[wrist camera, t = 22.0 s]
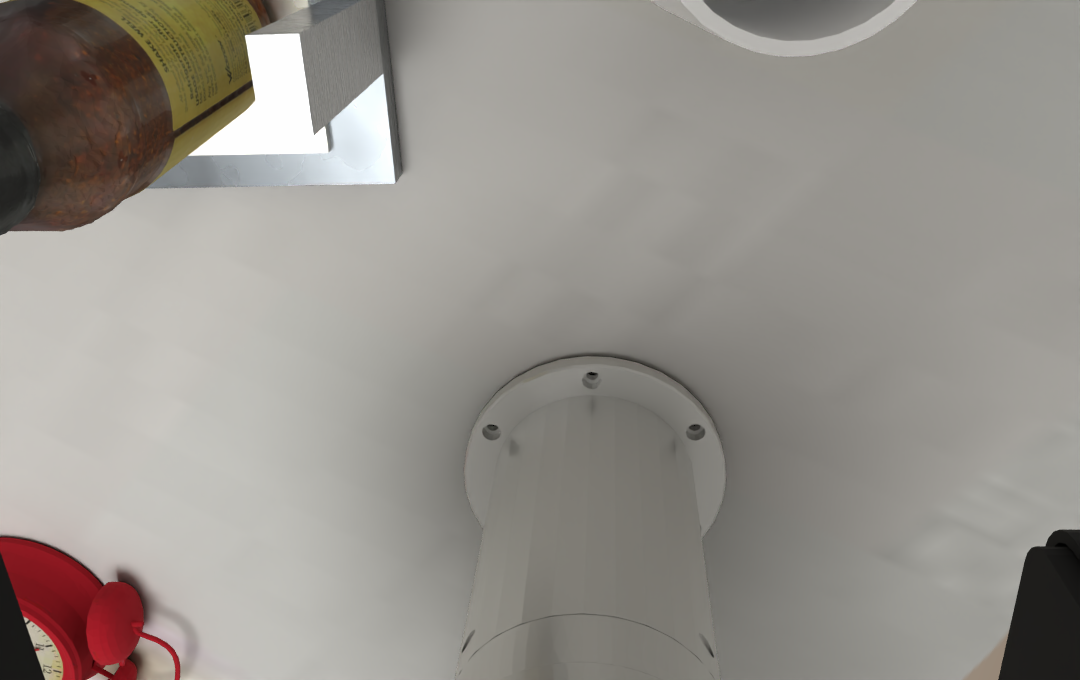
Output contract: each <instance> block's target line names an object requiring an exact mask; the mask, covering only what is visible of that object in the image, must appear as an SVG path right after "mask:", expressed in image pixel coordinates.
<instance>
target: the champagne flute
mask: <svg viewBox="0 0 1080 680" xmlns="http://www.w3.org/2000/svg"><path fill="white" fill-rule="evenodd" d="M650 1H652V2H653V3H654V4H656V5H657V6H659V7H660V8H662V9H663V10H665V11H667V12H669V13H671V14H673V15H675V16H677V17H679V18H681V19H683V20H685V21H688V22H690V23H692V24H694V25H696V26H698V27H700V28H702V29H704V30H706V31H708V32H710V33H712V34H714V35H716V36H718V37H720V38H722V39H724V40H726V41H728V42H730V43H733V44H735V45H738V46H740V47H743V48H745V49H748V50H750V51H753V52H757V53H763V54H769V55H774V56H780V57H797V56H814V55H819V54H823V53H828V52H832V51H837V50H841V49H844V48H846V47H848V46H851V45H853V44H855V43H858V42H860V41H862V40H865V39H867V38H869V37H871V36H873V35H874V34H876V33H877V32H879V31H880V30H882V29H883V28H885V27H886V26H888V25H889V24H891V23H892V22H894V21H896V20H897V19H898V18H899V17H900V16H901V15H902V14H904V13H905V12H906V11H907V10H908V9H909V8H910V7H911V6H912V5H913V4H914V3H915V2H916V1H917V0H650Z"/></svg>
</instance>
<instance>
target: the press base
mask: <svg viewBox="0 0 1080 680" xmlns="http://www.w3.org/2000/svg"><path fill="white" fill-rule="evenodd" d="M261 2H262V4H263V5H264V7H265V9H266V12H267V15H268V17H269V21H270V23H271V24H269V25H267V26H265V27H263V28H260V29H258V30H256V31H254V32H252V33H249V34H247V35H245V38H246V44H247V50H248V56H249V62H250V68H251V74H252V80H253V85H254V91H255V97H256V100H255V101H254V103H253V104H252V105H251V106H250V107H249V108H248V109H247V110H246V111H245V112H244V113H242V114H241V115H240V116H239V117H237V118H236V119H235V120H233V121H232V122H231V123H230V124H228V125H227V126H226V127H224V128H223V129H222V130H220V131H219V132H218V133H217V134H215V135H214V136H213V137H211V138H210V139H209V140H207V141H206V142H205V143H204V144H202V145H201V146H200V147H198V148H197V149H196V150H194V151H193V152H192V153H191V154H189V155H188V156H187V157H186V158H184V159H183V160H182V161H180V162H179V163H178V164H177V165H175V166H174V167H173V168H171V169H170V170H169V171H168V172H166V173H165V174H164V175H162V176H161V177H160V178H159V179H157V180H156V181H155V182H153V183H152V184H151V185H149V186H148V187H147V188H197V187H248V186H299V185H350V184H395V183H396V182H397V181H398V179H399V178H400V176H401V175H402V165H401V155H400V146H399V136H398V127H397V117H396V108H395V98H394V89H393V79H392V70H391V60H390V50H389V41H388V31H387V22H386V12H385V3H384V0H261ZM145 189H146V188H145Z"/></svg>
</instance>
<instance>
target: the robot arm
mask: <svg viewBox="0 0 1080 680" xmlns="http://www.w3.org/2000/svg"><path fill="white" fill-rule="evenodd" d="M589 372H594V373H597V374H596V375H593V376H592V375H589V374H588V373H589ZM490 424H493V425H496V426H491V425H490ZM694 424H698V425H697V426H691V425H694ZM464 479H465V490H466V493H467V496H468V500H469V503H470V506H471V509H472V511H473V513H474V515H475V516H476V518H477V520H478V522H479V524H480V525H481V527H482V529H483V535H482V540H481V546H480V551H479V556H478V561H477V566H476V571H475V577H474V582H473V587H472V592H471V597H470V602H469V608H468V613H467V618H466V623H465V628H464V633H463V639H462V644H461V649H460V654H459V659H458V665H457V670H456V675H455V680H721V678H720V671H719V663H718V656H717V648H716V641H715V633H714V626H713V619H712V611H711V604H710V596H709V589H708V581H707V574H706V566H705V559H704V551H703V544H702V539H703V537H704V536H705V535H706V533H707V532H708V530H709V529H710V527H711V526H712V524H713V523H714V521H715V519H716V517H717V515H718V512H719V510H720V507H721V505H722V502H723V498H724V492H725V486H726V468H725V458H724V453H723V448H722V444H721V440H720V437H719V435H718V433H717V430H716V428H715V425H714V423H713V421H712V419H711V418H710V416H709V415H708V413H707V412H706V411H705V409H704V408H703V406H702V405H701V404H700V402H699V401H698V400H697V399H696V398H695V397H694V396H693V395H692V394H691V393H689V392H688V391H687V390H686V389H685V388H684V387H683V386H682V385H681V384H679V383H677V382H676V381H674V380H673V379H671V378H669V377H668V376H666V375H665V374H663V373H662V372H660V371H657V370H655V369H652V368H650V367H647V366H645V365H642V364H640V363H637V362H632V361H628V360H623V359H618V358H613V357H595V356H583V357H575V358H568V359H560V360H557V361H554V362H551V363H547V364H544V365H541V366H538V367H535V368H533V369H531V370H530V371H528V372H526V373H524V374H522V375H520V376H518V377H516V378H514V379H513V380H512V381H511V382H509V383H508V384H507V385H506V386H504V387H503V388H502V389H501V390H499V391H498V392H497V393H496V394H495V395H494V396H493V398H492V399H491V400H490V401H489V402H488V404H487V405H486V406H485V407H484V408H483V410H482V411H481V413H480V415H479V417H478V419H477V421H476V423H475V425H474V427H473V429H472V431H471V435H470V439H469V442H468V445H467V449H466V456H465V463H464ZM0 680H45V677H44V674H43V671H42V668H41V666H40V663H39V660H38V657H37V654H36V651H35V649H34V646H33V643H32V640H31V637H30V634H29V632H28V629H27V626H26V623H25V620H24V617H23V615H22V612H21V609H20V606H19V603H18V600H17V598H16V595H15V592H14V589H13V586H12V583H11V581H10V578H9V575H8V572H7V569H6V566H5V564H4V561H3V558H2V555H1V552H0ZM998 680H1080V530H1057V531H1054V532H1053V533H1052V534H1051V536H1050V537H1049V538H1048V541H1047V543H1046V546H1045V547H1033V548H1031V549H1030V550H1029V552H1028V553H1027V556H1026V559H1025V563H1024V567H1023V572H1022V576H1021V580H1020V585H1019V589H1018V594H1017V598H1016V603H1015V607H1014V612H1013V616H1012V621H1011V625H1010V630H1009V634H1008V639H1007V644H1006V648H1005V653H1004V657H1003V661H1002V666H1001V670H1000V675H999V679H998Z"/></svg>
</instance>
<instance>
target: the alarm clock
mask: <svg viewBox="0 0 1080 680" xmlns="http://www.w3.org/2000/svg"><path fill="white" fill-rule="evenodd" d="M0 552H1V555H2V558H3V561H4V564H5V566H6V569H7V572H8V575H9V578H10V581H11V583H12V586H13V589H14V592H15V595H16V598H17V600H18V603H19V606H20V609H21V612H22V615H23V617H24V620H25V623H26V626H27V629H28V632H29V634H30V637H31V640H32V643H33V646H34V649H35V651H36V654H37V657H38V660H39V663H40V666H41V668H42V671H43V674H44V677H45V680H87V679H89V678H91V677H93V676H94V675H96V674H97V673H100V674H102V675H104V676H106V677H108V678H110V679H112V680H136V677H137V668H136V666H135V664H134V663H133V662H131V661H130V660H129V659H127V657H128V656H129V655H130V654H131V653H132V652H133V650H134V649H135V647H136V645H137V644H138V641H139V639H140V637H143V638H146V639H148V640H151V641H153V642H156V643H158V644H160V645H161V646H163V647H164V648H166V649H167V650H168V651H169V652H170V654H171V655H172V657H173V660H174V663H175V680H180V662H179V658H178V656H177V654H176V652H175V650H174V649H173V648H172V647H171V646H170V645H169V644H168V643H166V642H165V641H163V640H161V639H159V638H157V637H155V636H152V635H149V634H146V633H144V632H142V629H143V625H144V622H143V607H142V603H141V599H140V597H139V594H138V593H137V591H136V590H135V589H134V588H133V587H132V586H130V585H129V584H127V583H124V582H108V583H107V584H106V585H104V586H102V585H101V584H100V582H99V581H98V580H97V579H96V578H95V577H94V576H93V575H92V574H91V573H90V572H89V571H88V570H86V569H85V568H84V567H83V566H81V565H80V564H79V563H77V562H76V561H74V560H73V559H71V558H70V557H68V556H66V555H64V554H62V553H60V552H58V551H56V550H54V549H52V548H50V547H47V546H44V545H41V544H38V543H35V542H32V541H28V540H22V539H16V538H4V537H0ZM116 663H119V665H120V666H119V668H118V670H117V671H116V673H115V675H113V674H111V673H110V672H108V671H106V670H104V669H103V668H104V667H105V666H106V665H112V664H116ZM110 679H108V680H110Z"/></svg>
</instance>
